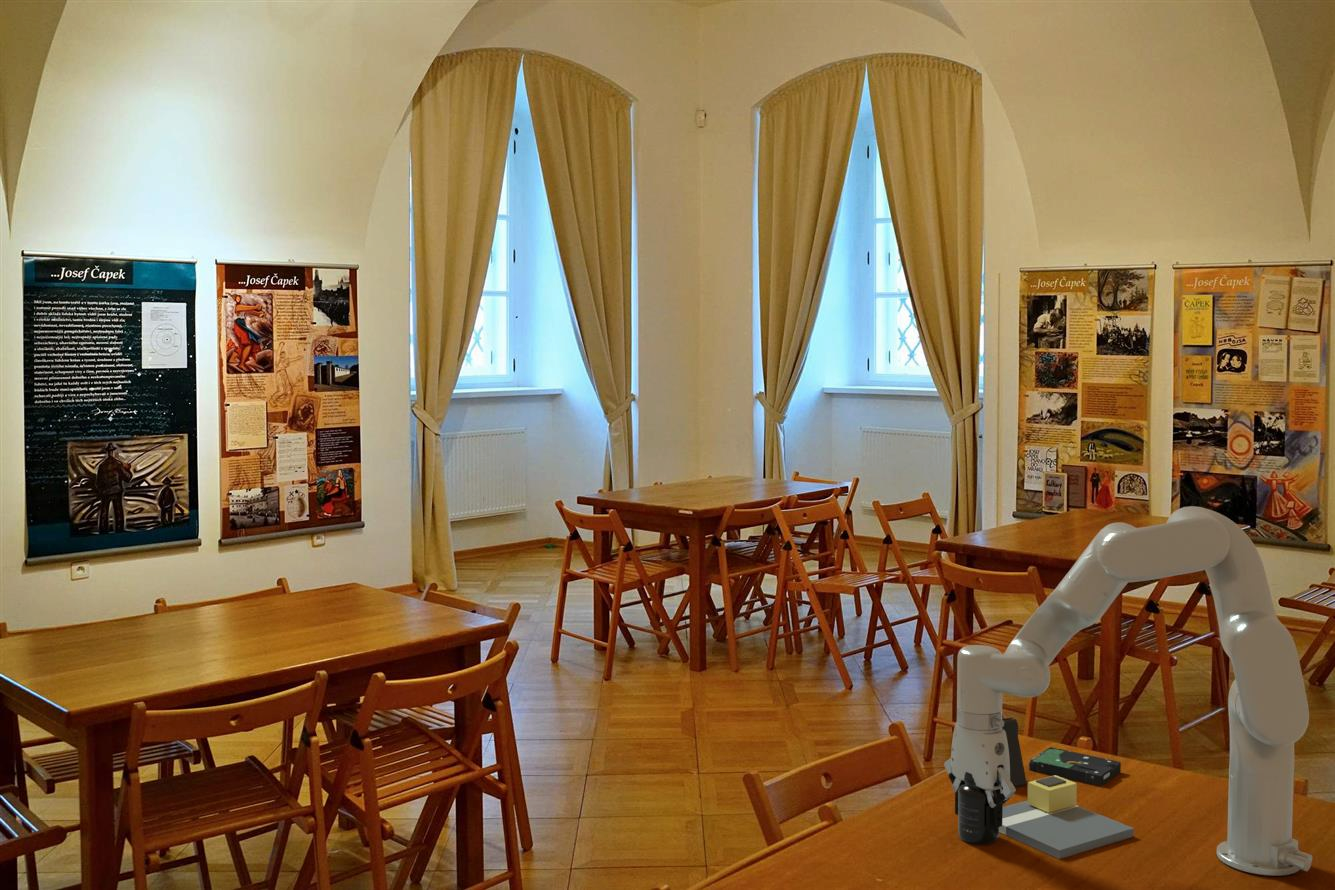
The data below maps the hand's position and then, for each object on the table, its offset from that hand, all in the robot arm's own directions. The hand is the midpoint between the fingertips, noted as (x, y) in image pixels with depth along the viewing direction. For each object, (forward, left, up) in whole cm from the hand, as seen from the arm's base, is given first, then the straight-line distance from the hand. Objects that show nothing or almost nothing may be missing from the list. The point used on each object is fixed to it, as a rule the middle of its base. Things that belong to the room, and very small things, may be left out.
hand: (978, 819), depth 218 cm
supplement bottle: (0, 0, -4) cm, 4 cm away
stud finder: (+1, -19, -2) cm, 19 cm away
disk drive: (+15, -40, -4) cm, 43 cm away
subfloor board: (-4, -14, -3) cm, 15 cm away
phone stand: (+19, -24, -4) cm, 31 cm away
